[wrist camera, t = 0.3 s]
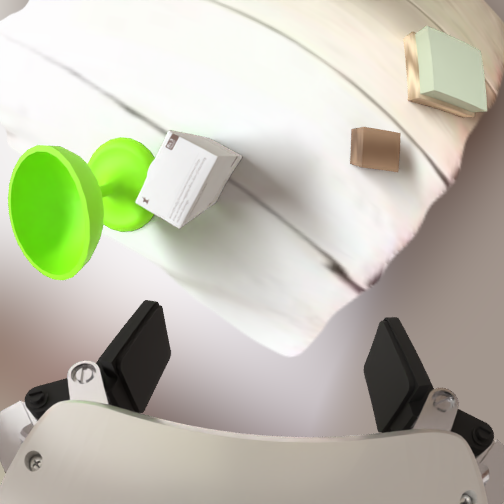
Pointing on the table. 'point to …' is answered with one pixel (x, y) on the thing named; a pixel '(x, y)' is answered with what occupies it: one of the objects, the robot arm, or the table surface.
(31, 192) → the wineglass
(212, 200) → the skincare box
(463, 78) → the block top
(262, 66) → the table surface
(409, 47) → the block bottom
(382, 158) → the walnut block
